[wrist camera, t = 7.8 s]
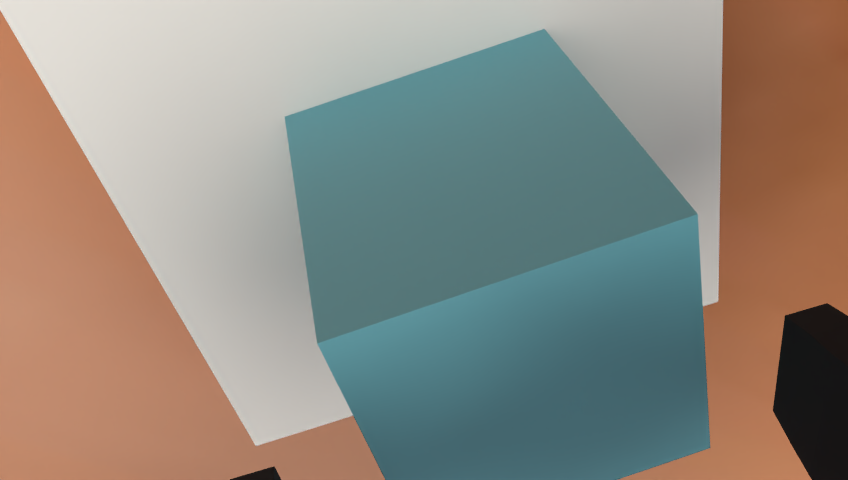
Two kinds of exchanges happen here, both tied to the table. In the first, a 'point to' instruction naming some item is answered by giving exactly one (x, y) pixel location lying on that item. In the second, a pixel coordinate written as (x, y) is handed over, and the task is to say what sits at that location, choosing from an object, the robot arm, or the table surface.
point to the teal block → (501, 273)
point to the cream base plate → (305, 88)
